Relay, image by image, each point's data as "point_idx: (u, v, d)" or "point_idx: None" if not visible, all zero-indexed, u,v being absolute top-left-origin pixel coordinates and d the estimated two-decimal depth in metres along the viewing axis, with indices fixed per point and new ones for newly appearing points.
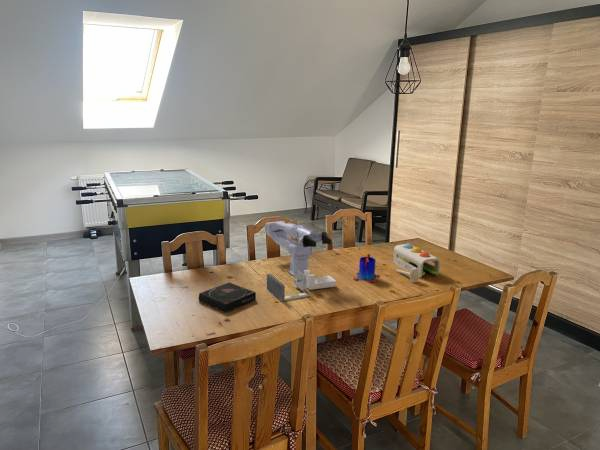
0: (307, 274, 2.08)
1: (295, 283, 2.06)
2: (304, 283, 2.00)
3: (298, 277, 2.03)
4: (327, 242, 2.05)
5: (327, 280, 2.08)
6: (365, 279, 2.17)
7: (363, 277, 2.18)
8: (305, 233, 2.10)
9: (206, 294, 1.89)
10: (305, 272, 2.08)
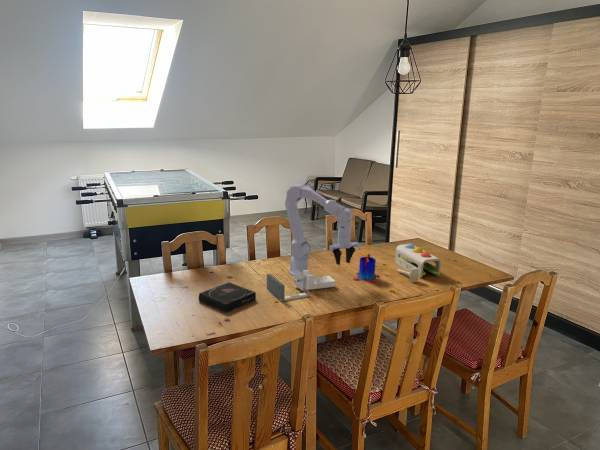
0: (306, 274, 2.08)
1: (295, 283, 2.06)
2: (304, 283, 2.00)
3: (298, 277, 2.03)
4: (346, 258, 2.14)
5: (326, 280, 2.08)
6: (365, 279, 2.17)
7: (363, 277, 2.18)
8: (342, 240, 2.07)
9: (206, 294, 1.89)
10: (304, 272, 2.08)
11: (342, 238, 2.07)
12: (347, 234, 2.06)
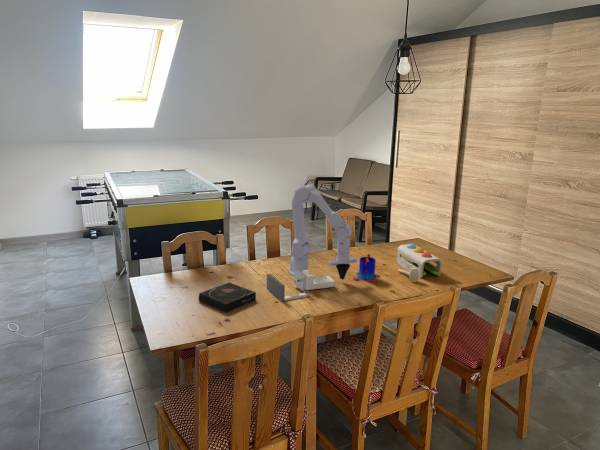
0: (306, 274, 2.08)
1: (295, 283, 2.06)
2: (304, 283, 2.00)
3: (298, 277, 2.03)
4: None
5: (326, 280, 2.08)
6: (365, 279, 2.17)
7: (363, 277, 2.18)
8: (341, 256, 2.09)
9: (206, 294, 1.89)
10: (304, 272, 2.08)
11: (341, 254, 2.09)
12: (346, 250, 2.08)
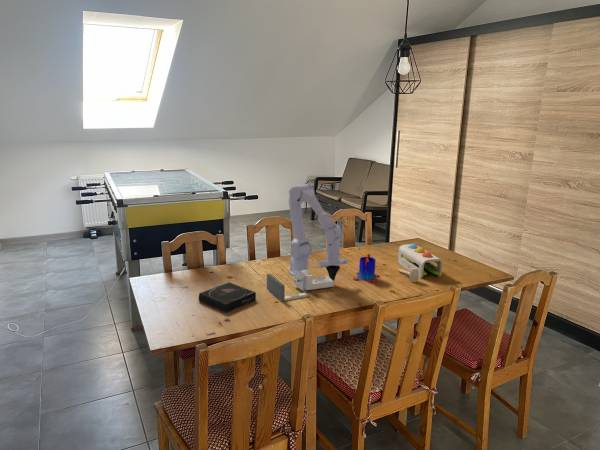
0: (305, 274, 2.07)
1: (295, 283, 2.06)
2: (304, 283, 2.00)
3: (298, 277, 2.03)
4: None
5: (325, 280, 2.08)
6: (365, 279, 2.17)
7: (363, 277, 2.18)
8: (331, 257, 2.06)
9: (206, 294, 1.89)
10: (303, 272, 2.07)
11: (331, 255, 2.06)
12: (334, 252, 2.05)
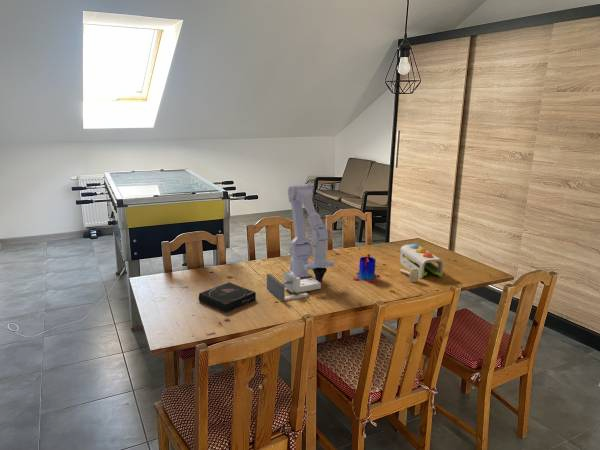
0: None
1: (285, 285, 2.04)
2: (293, 285, 1.97)
3: (287, 279, 2.01)
4: None
5: (312, 282, 2.05)
6: (365, 279, 2.17)
7: (363, 277, 2.18)
8: (317, 259, 2.03)
9: (206, 294, 1.89)
10: None
11: (317, 257, 2.03)
12: (318, 254, 2.02)
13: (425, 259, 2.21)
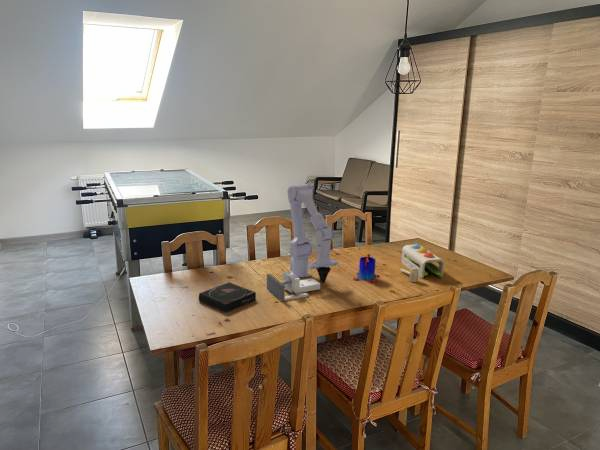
0: None
1: None
2: (292, 285, 1.97)
3: (286, 279, 2.01)
4: None
5: (311, 283, 2.04)
6: (365, 279, 2.17)
7: (363, 277, 2.18)
8: (321, 259, 2.04)
9: (206, 294, 1.89)
10: None
11: (321, 257, 2.04)
12: (323, 253, 2.03)
13: (426, 259, 2.21)
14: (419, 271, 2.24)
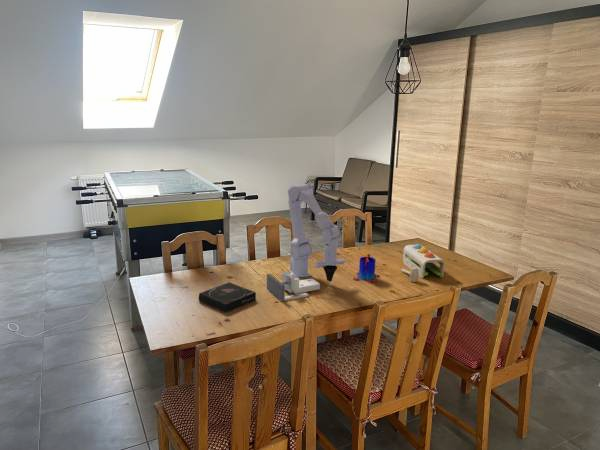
0: None
1: None
2: (292, 285, 1.97)
3: (286, 279, 2.01)
4: None
5: (311, 283, 2.04)
6: (365, 279, 2.17)
7: (363, 277, 2.18)
8: (328, 257, 2.05)
9: (206, 294, 1.89)
10: None
11: (328, 255, 2.05)
12: (331, 252, 2.05)
13: (426, 259, 2.21)
14: (419, 271, 2.24)
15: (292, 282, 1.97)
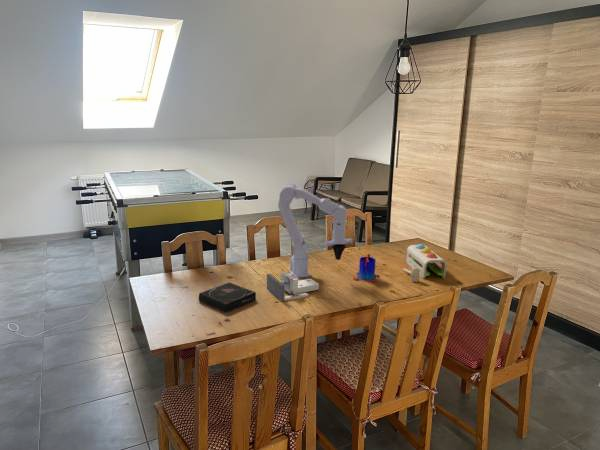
0: None
1: None
2: (291, 285, 1.97)
3: (285, 279, 2.00)
4: None
5: (310, 283, 2.04)
6: (365, 279, 2.17)
7: (363, 277, 2.18)
8: (337, 236, 2.12)
9: (206, 294, 1.89)
10: None
11: (337, 234, 2.12)
12: (343, 230, 2.12)
13: (428, 259, 2.20)
14: (421, 271, 2.24)
15: (291, 282, 1.96)
